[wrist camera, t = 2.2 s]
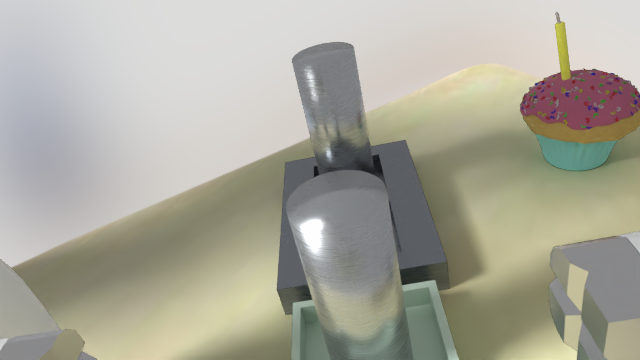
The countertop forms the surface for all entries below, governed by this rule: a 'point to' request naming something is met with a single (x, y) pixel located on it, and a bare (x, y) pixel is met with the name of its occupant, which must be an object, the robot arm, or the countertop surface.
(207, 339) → the countertop surface
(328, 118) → the seated billet
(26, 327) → the milk bottle
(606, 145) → the cupcake
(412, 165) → the pallet
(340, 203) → the billet
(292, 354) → the tray
